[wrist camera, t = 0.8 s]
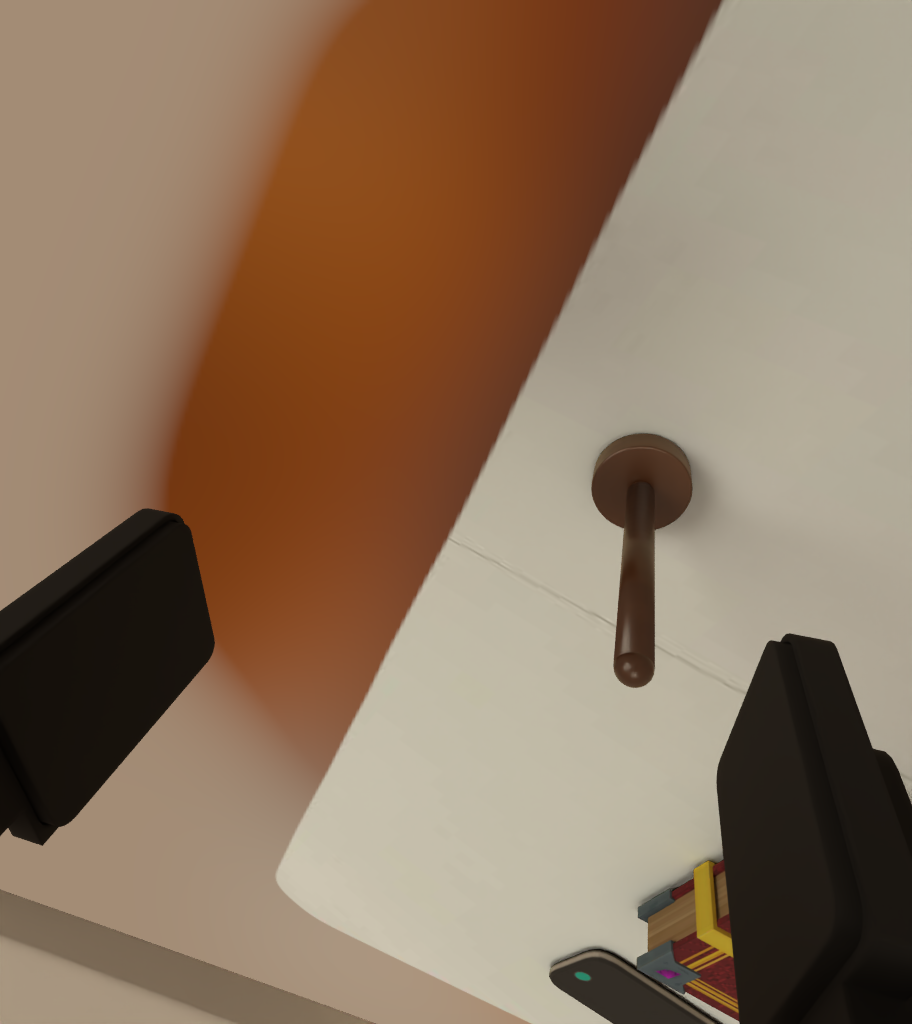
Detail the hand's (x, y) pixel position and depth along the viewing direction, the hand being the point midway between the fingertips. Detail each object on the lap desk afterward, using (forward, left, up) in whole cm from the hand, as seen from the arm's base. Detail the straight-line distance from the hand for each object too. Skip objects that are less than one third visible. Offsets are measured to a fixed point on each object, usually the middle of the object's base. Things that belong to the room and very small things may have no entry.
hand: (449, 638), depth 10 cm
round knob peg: (+6, +5, -20) cm, 22 cm away
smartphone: (+52, +25, -20) cm, 61 cm away
